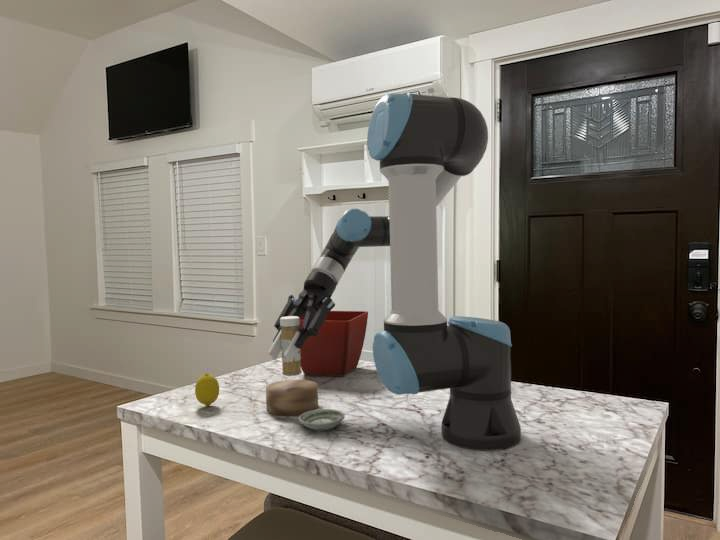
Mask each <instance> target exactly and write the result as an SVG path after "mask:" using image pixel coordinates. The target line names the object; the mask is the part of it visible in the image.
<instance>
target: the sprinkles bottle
mask: <svg viewBox="0 0 720 540" xmlns="http://www.w3.org/2000/svg"><path fill="white" fill-rule="evenodd" d="M299 325H300V318H299V317H297V316H286V317H281V318H280V326H281V349H282V350H281V362H282V365H281V366H282V371H281V374H282V375H283V376H285V377H286V376H287V377H295V376H299V375H301V374H302V368H301V363H300V359H301V356H300V349H299V350H298V352H297V354H296V356H295V357H294V359H293V361H292V362H289V361H288V360H287V359H286V357H285V356H284V353H285V351H286V349H287V348H288V346H289V344H290V342H291V341H292V339H293V337H294V335H295V333H296V332H299Z"/></svg>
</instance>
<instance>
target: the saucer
mask: <svg viewBox="0 0 720 540" xmlns="http://www.w3.org/2000/svg"><path fill="white" fill-rule="evenodd" d="M344 419H345V413H344V412H343V411H341V410H337V409H333V408H332V409H331V408H320V409H318V408H317V409H316V410H312V411H308V412H305V413H303V414H301V415H298V421H299V423H301V424H302V425H303V426H305V428H309V429H311V430H313V431H318V432H321V431H323V432H324V431H329V430H331V429H333V428H335V427H336V426H338V425H339V424H340V423H341V422H342V421H344Z"/></svg>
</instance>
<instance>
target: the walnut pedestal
mask: <svg viewBox="0 0 720 540" xmlns="http://www.w3.org/2000/svg"><path fill="white" fill-rule="evenodd" d="M318 386H319V385H318V383H317V382H315V381H311V380H307V379H287V380H280V381H275V382H272V383H270V384H268V385H266V387H265V401H266V406H265V407H266V412H267V413H269V414H271V415H274V416H279V415H281V416H280V417H293V416H294V417H295V416H300V415H301V414H303V413H305V412H308V411H312V410H318V408H319V387H318Z"/></svg>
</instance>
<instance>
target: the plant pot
mask: <svg viewBox="0 0 720 540" xmlns="http://www.w3.org/2000/svg"><path fill="white" fill-rule="evenodd" d="M305 315H306V314H305ZM305 315H302V316H301V318H300V325H299V329H300V328H301V327H302V324H303V321H304V318H305ZM368 319H369V311H366V310H365V311H361V310H360V311H358V310H331V311H330V312H329V314H328V315H327V317H326V319H325V321H324V323H323V324H322V326H321V328H320V330H319V332H318V333H317V335H316V336H315V337H313V336H309V338H307V339H306V341H305V343H304V344H303V346H302V348H301V349H300V356H301V359H300V363H301V372H303V374H304V375H306V376H307V375H309V376H310V375H311V376H327V377H345V376H346V375H348V374H349V373H351V372H352V371H353V370H354V369H356V368H357V367H358V365H359V363H360V358H361V357H362V356H361V355H362V351H363V347H364V343H365V338H366V334H367V333H366V332H367V325H368ZM313 329H314V328H313ZM299 332H300V331H299ZM300 333H301V332H300Z"/></svg>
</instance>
